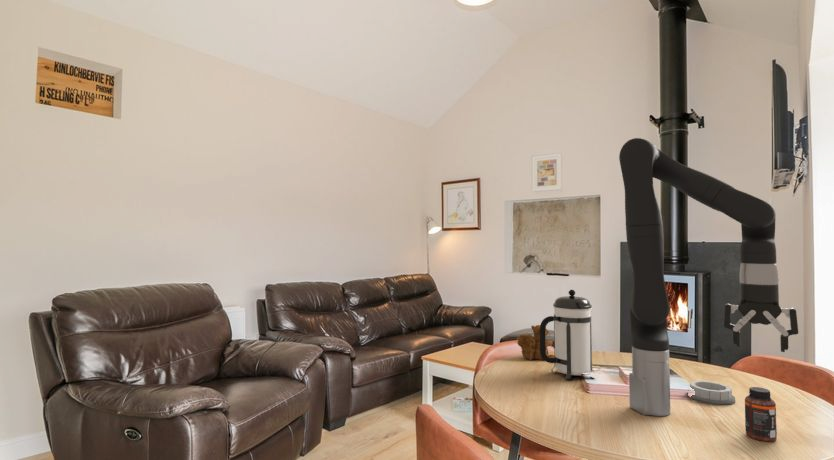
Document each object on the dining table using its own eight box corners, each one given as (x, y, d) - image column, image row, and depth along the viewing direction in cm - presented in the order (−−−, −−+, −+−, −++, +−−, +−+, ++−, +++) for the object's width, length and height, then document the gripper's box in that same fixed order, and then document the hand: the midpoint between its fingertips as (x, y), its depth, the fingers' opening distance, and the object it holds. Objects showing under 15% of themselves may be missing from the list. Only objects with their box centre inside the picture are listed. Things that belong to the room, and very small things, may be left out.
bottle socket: (708, 406, 128) (708, 393, 128) (678, 392, 140) (677, 381, 140) (745, 403, 130) (745, 391, 130) (712, 390, 142) (712, 378, 142)
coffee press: (556, 366, 169) (555, 286, 170) (600, 373, 160) (599, 289, 161) (539, 378, 155) (538, 290, 156) (587, 386, 146) (585, 293, 147)
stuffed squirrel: (558, 360, 179) (557, 326, 179) (526, 362, 175) (525, 328, 176) (544, 354, 189) (544, 322, 189) (514, 356, 185) (513, 324, 185)
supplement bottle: (782, 443, 104) (781, 394, 104) (753, 441, 105) (752, 392, 106) (768, 433, 110) (766, 386, 110) (740, 431, 111) (739, 384, 111)
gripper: (722, 281, 111) (724, 347, 111) (797, 284, 103) (799, 356, 102) (724, 279, 117) (725, 342, 117) (795, 282, 109) (797, 350, 108)
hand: (760, 348), depth 110 cm, fingers open, 8 cm apart
